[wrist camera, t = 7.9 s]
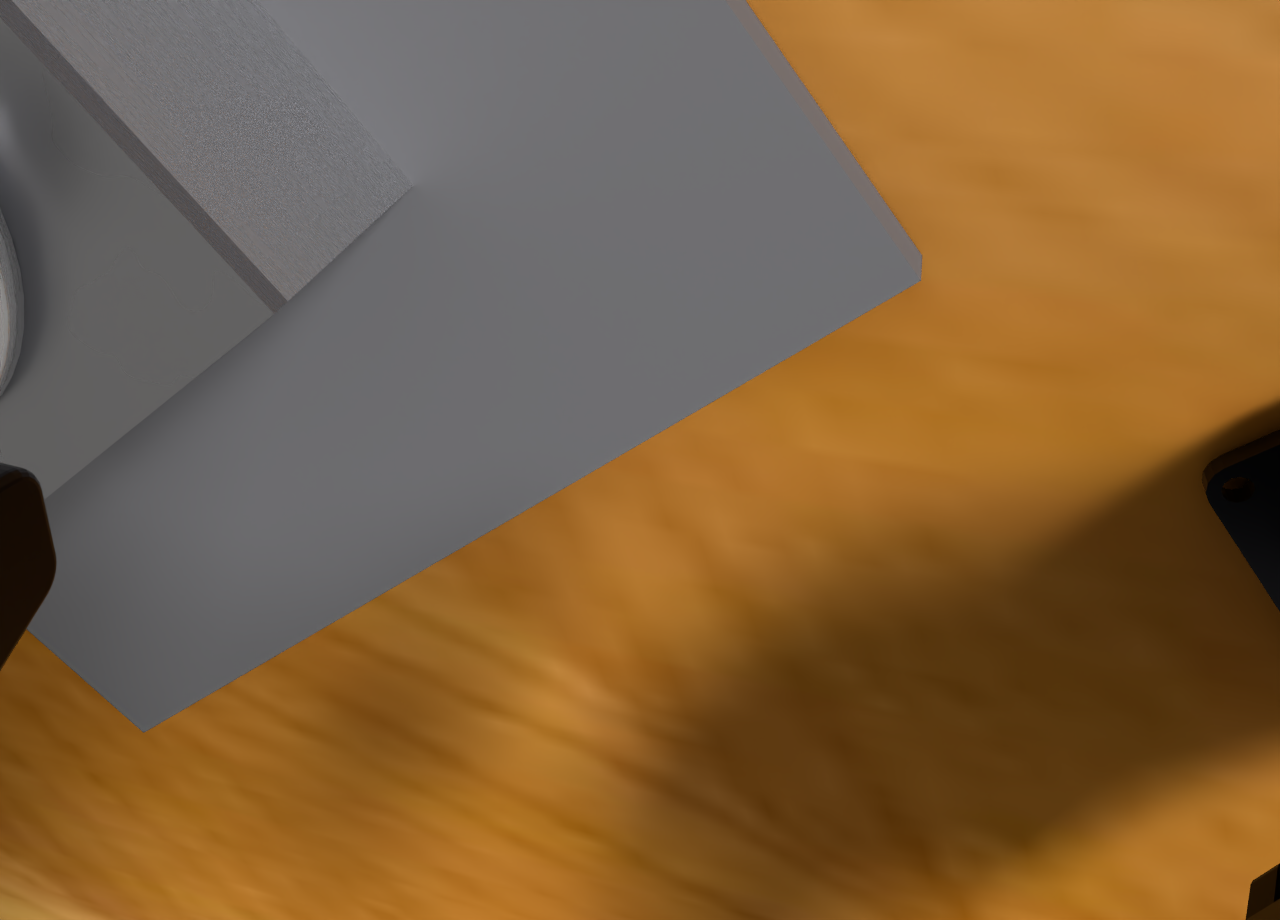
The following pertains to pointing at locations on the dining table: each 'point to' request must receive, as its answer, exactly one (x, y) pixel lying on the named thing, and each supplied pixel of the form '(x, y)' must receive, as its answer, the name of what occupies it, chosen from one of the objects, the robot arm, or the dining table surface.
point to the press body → (159, 204)
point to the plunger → (9, 307)
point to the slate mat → (471, 322)
